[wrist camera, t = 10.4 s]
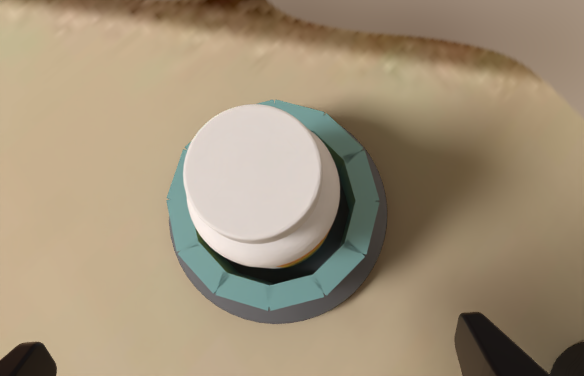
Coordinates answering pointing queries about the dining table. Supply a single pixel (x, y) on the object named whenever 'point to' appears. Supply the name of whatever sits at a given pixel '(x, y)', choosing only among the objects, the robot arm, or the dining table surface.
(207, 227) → the supplement bottle
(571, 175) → the dining table surface
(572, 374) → the drinking cup
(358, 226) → the teal round bowl
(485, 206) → the dining table surface
